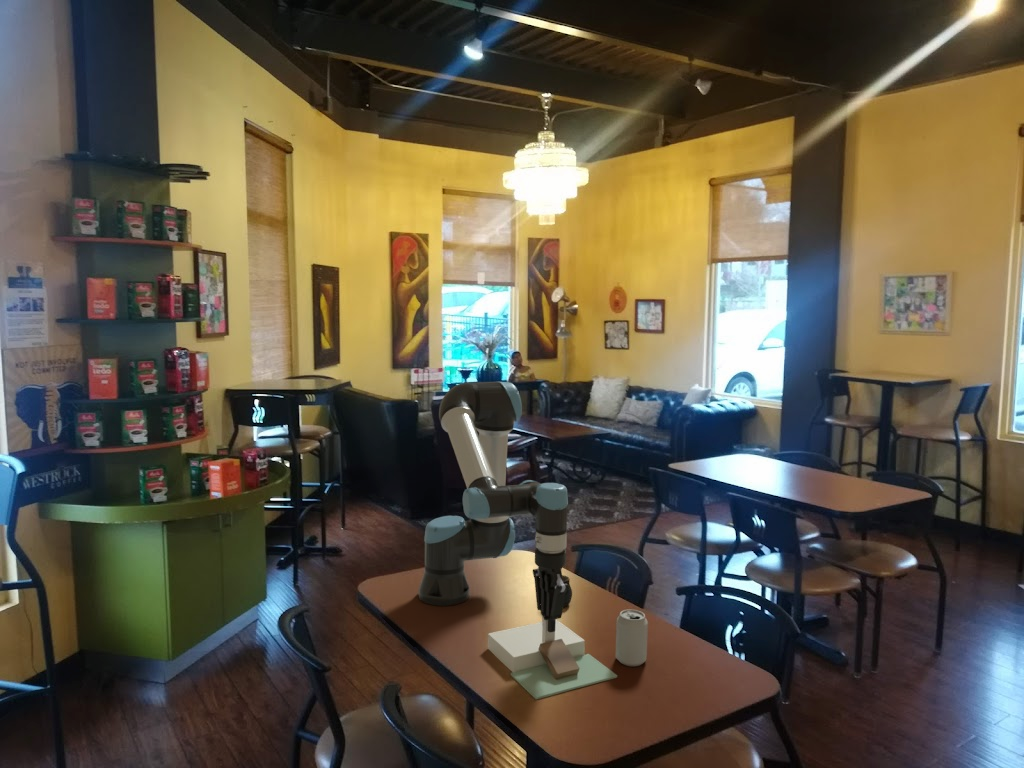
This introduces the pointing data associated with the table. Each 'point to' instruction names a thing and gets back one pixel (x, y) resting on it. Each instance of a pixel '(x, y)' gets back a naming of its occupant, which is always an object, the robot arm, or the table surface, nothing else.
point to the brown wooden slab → (558, 659)
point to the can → (631, 637)
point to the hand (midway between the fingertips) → (548, 642)
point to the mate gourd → (568, 592)
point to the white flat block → (529, 645)
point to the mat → (544, 683)
